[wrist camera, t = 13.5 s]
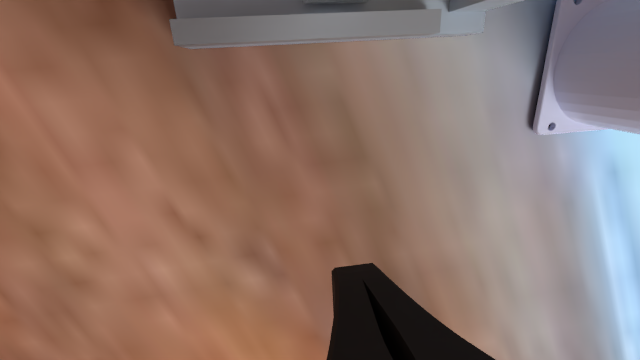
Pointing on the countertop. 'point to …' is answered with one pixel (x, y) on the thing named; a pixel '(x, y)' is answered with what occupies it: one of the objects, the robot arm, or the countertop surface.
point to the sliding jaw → (331, 1)
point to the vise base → (322, 21)
